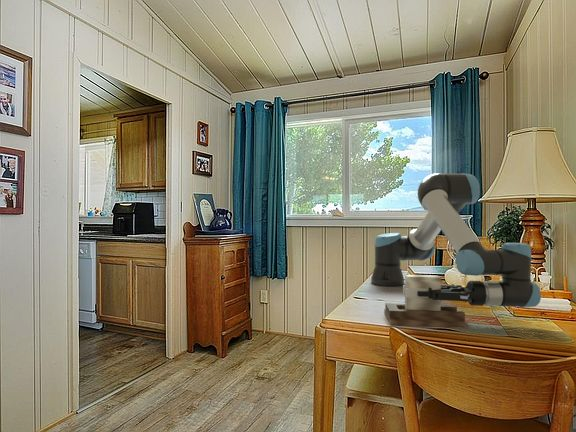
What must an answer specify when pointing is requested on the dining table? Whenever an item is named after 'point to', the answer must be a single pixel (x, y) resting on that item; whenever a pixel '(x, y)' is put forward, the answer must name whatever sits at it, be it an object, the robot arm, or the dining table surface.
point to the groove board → (426, 323)
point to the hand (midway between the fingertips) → (404, 291)
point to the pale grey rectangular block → (422, 283)
